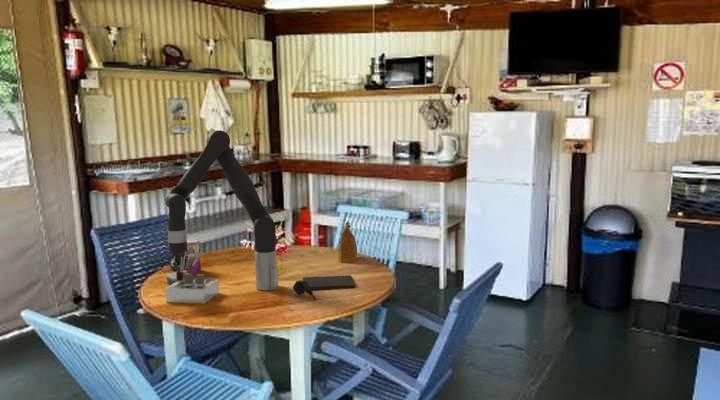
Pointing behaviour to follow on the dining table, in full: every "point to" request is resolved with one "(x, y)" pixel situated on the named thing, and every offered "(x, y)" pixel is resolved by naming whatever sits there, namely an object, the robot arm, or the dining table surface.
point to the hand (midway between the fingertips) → (180, 280)
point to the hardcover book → (329, 282)
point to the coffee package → (347, 246)
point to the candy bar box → (193, 257)
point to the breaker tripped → (183, 277)
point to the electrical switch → (172, 278)
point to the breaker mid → (189, 280)
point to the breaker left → (200, 280)
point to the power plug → (302, 288)
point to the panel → (192, 292)
